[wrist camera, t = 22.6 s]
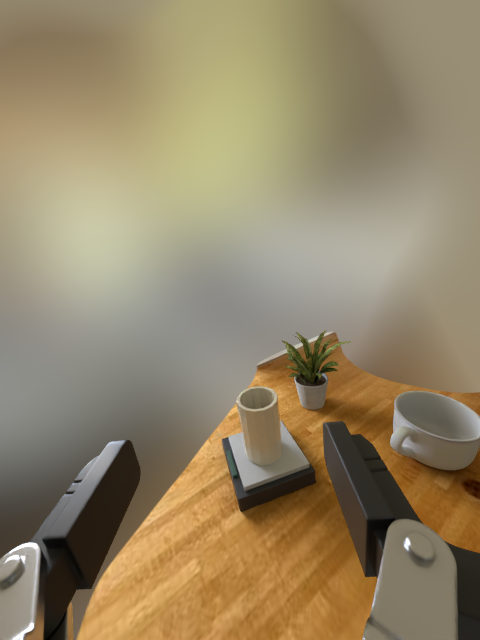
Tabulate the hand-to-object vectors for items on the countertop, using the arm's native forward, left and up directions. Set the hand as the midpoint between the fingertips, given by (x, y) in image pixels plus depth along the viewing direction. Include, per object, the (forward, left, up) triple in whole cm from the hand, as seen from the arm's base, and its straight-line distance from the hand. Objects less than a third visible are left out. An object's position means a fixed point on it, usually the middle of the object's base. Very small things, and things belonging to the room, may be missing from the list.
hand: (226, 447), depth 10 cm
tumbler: (+8, +23, -25) cm, 35 cm away
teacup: (+31, +15, -28) cm, 45 cm away
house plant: (+24, +34, -28) cm, 51 cm away
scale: (+7, +23, -28) cm, 37 cm away
